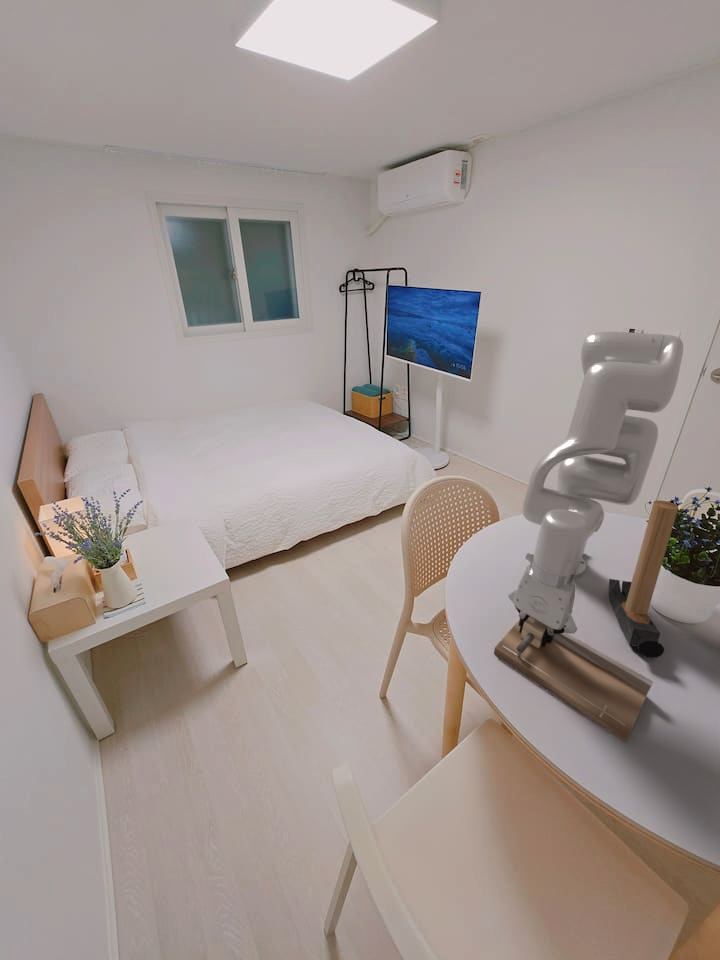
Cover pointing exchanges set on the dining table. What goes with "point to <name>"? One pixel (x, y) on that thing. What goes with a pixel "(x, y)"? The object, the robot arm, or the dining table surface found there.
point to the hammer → (644, 583)
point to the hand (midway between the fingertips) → (534, 635)
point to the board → (581, 678)
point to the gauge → (531, 634)
